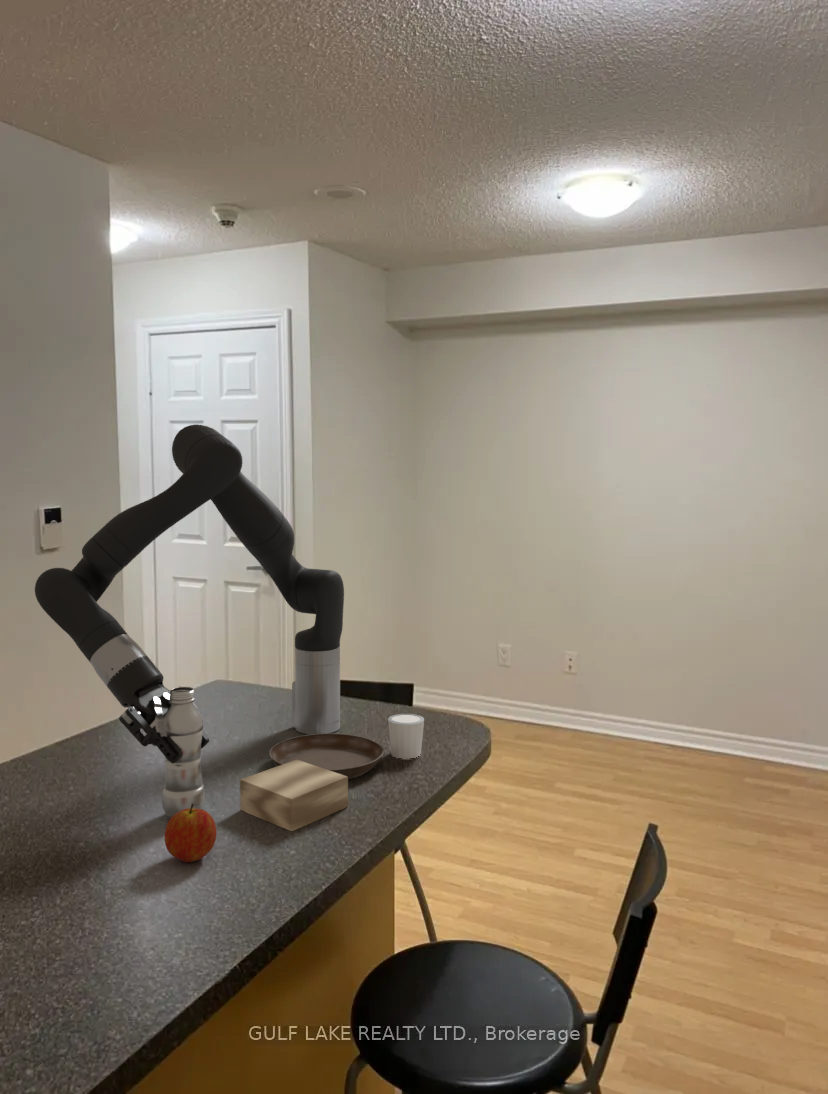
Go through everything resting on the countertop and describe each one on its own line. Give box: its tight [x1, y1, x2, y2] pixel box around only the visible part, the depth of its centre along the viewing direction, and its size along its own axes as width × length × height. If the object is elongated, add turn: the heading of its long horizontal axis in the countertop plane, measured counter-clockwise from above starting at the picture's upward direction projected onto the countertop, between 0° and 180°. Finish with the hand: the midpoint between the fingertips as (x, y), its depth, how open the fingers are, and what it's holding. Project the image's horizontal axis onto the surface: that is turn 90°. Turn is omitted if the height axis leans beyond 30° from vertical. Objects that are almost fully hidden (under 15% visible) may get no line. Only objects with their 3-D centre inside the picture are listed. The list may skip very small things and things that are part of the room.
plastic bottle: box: [161, 686, 206, 819], centre depth 130 cm, size 6×7×20 cm
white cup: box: [387, 713, 425, 760], centre depth 160 cm, size 7×7×7 cm
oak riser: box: [239, 760, 349, 832], centre depth 134 cm, size 12×12×5 cm
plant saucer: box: [268, 733, 385, 780], centre depth 154 cm, size 21×21×3 cm
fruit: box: [164, 803, 218, 864], centre depth 117 cm, size 7×7×8 cm
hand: (191, 752), depth 130 cm, fingers closed on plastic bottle, 6 cm apart
